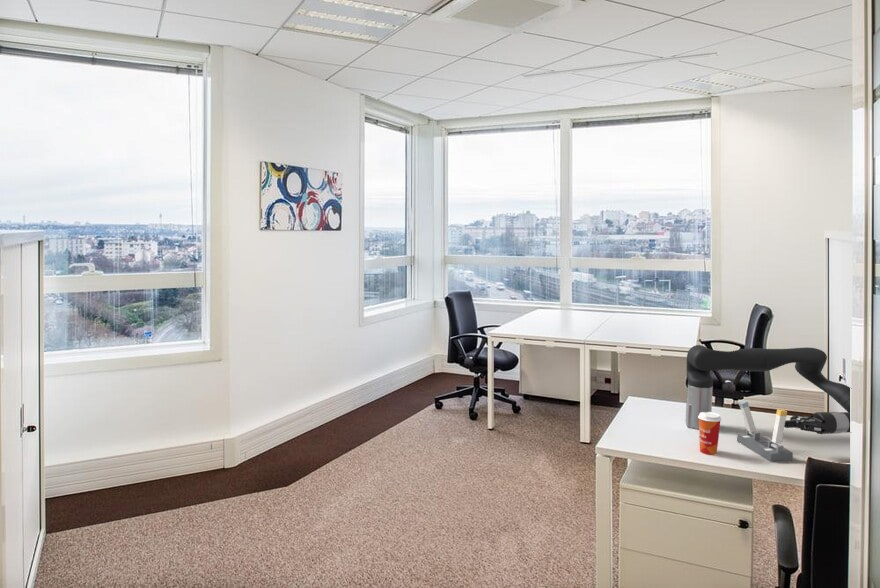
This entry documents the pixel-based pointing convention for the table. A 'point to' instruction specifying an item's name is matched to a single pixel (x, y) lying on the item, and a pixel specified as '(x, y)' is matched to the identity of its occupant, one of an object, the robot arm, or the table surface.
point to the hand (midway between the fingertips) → (783, 424)
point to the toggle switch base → (764, 447)
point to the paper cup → (709, 432)
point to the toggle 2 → (779, 427)
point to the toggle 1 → (747, 417)
